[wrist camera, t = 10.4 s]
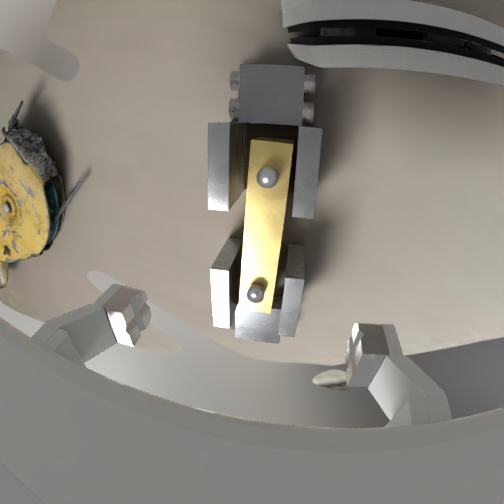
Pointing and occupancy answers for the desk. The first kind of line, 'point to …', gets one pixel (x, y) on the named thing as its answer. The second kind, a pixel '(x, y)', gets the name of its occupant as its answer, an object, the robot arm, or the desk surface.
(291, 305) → the chain end
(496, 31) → the grey half-round block
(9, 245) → the pulley block
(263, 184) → the brass block with peg
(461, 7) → the desk surface
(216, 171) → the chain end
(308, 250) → the desk surface
